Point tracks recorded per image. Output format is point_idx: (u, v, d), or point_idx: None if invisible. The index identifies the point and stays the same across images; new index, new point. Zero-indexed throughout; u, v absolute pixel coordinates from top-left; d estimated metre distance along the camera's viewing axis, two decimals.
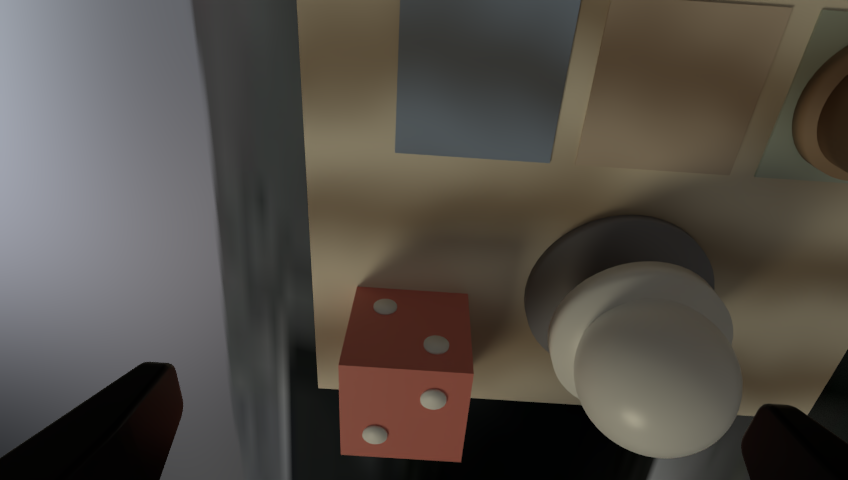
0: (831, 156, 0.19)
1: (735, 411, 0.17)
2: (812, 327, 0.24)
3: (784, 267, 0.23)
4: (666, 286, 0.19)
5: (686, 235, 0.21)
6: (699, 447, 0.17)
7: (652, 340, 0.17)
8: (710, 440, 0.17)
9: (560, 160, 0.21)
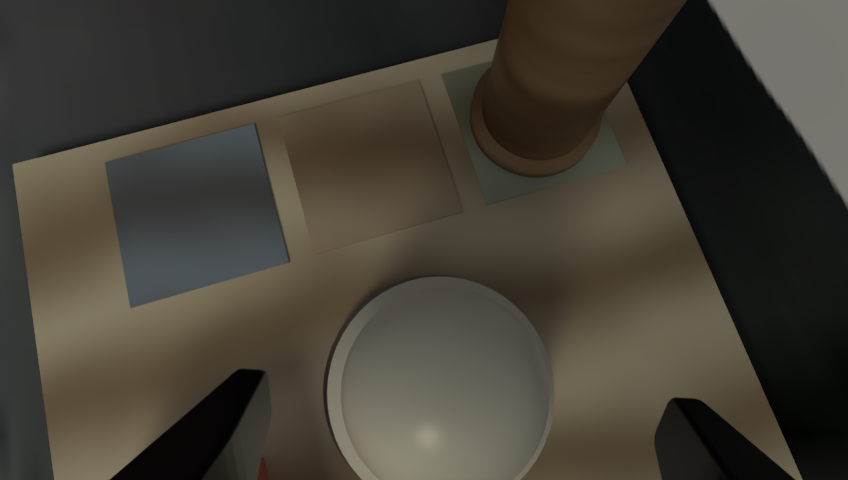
0: (513, 145, 0.20)
1: (515, 347, 0.13)
2: (681, 338, 0.20)
3: (589, 281, 0.20)
4: None
5: (458, 277, 0.20)
6: (491, 408, 0.12)
7: (381, 312, 0.14)
8: (498, 390, 0.12)
9: (299, 256, 0.20)
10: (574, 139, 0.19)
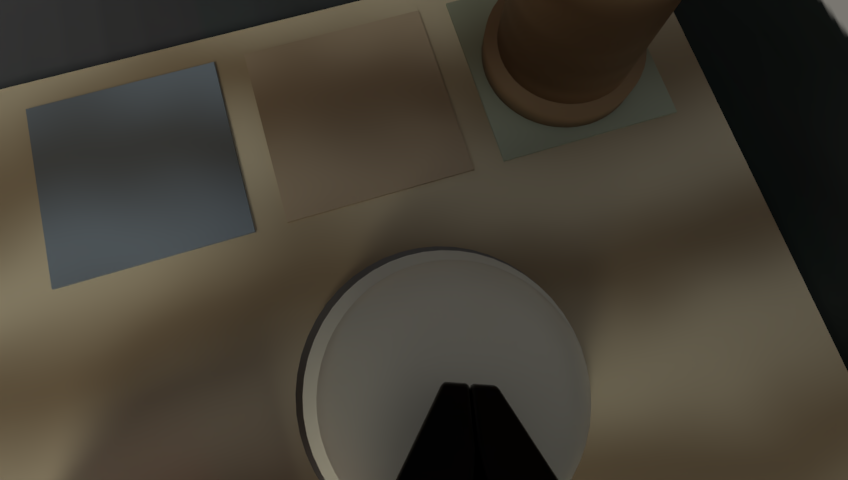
0: (538, 83, 0.16)
1: (548, 334, 0.10)
2: (751, 327, 0.16)
3: (634, 255, 0.16)
4: None
5: (468, 250, 0.16)
6: (519, 417, 0.09)
7: (370, 291, 0.11)
8: (528, 393, 0.09)
9: (269, 225, 0.16)
10: (617, 71, 0.15)
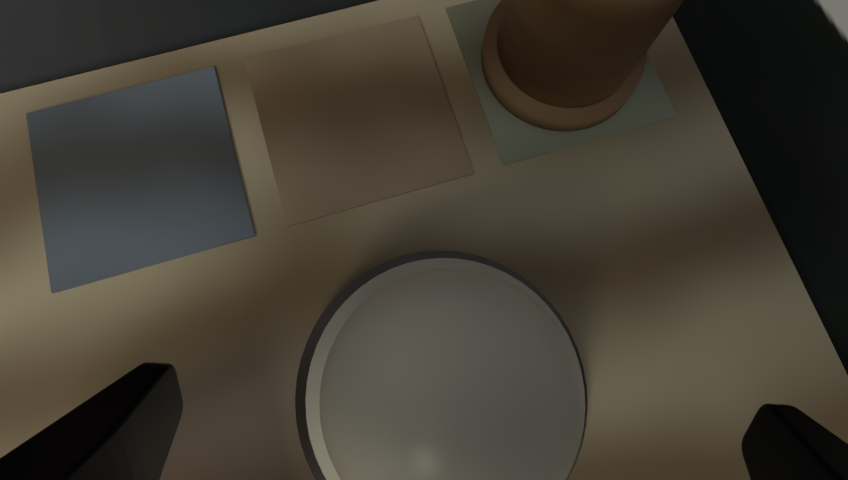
0: (538, 87, 0.16)
1: (543, 340, 0.10)
2: (751, 331, 0.16)
3: (634, 259, 0.16)
4: None
5: (468, 253, 0.16)
6: (514, 421, 0.09)
7: (371, 298, 0.11)
8: (523, 397, 0.09)
9: (268, 229, 0.16)
10: (617, 76, 0.15)
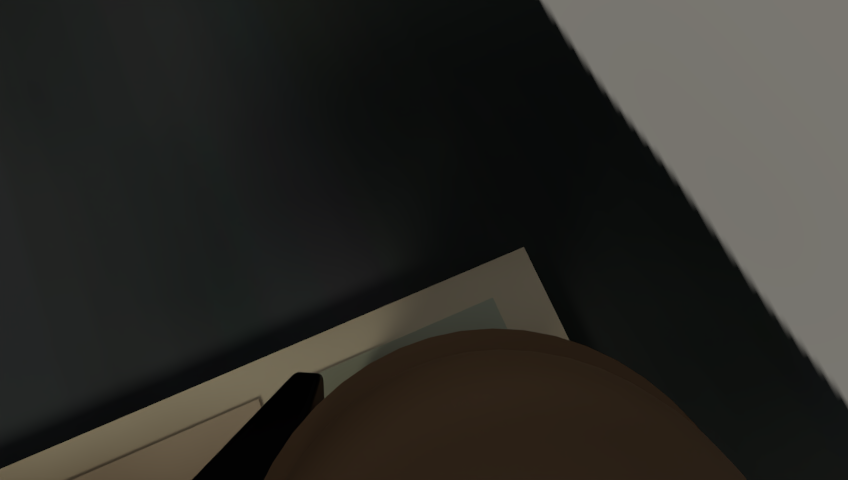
0: None
1: None
2: None
3: None
4: None
5: None
6: None
7: None
8: None
9: None
10: None
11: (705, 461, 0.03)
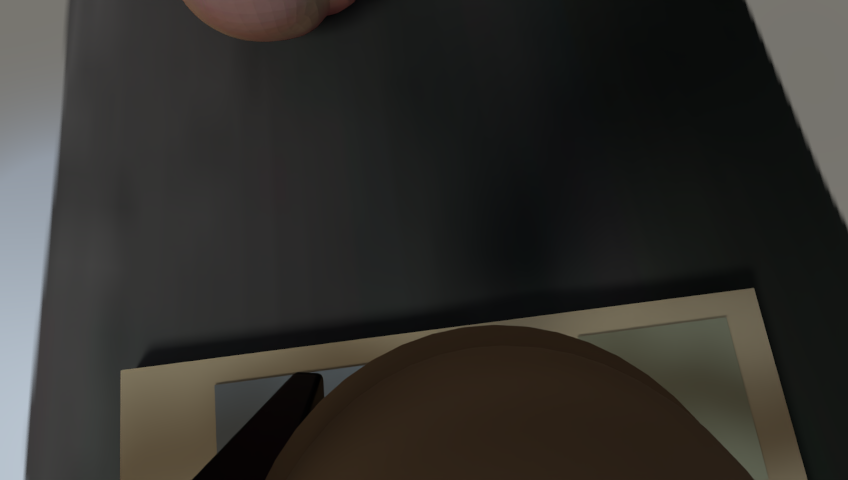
0: None
1: None
2: None
3: None
4: None
5: None
6: None
7: None
8: None
9: None
10: None
11: (708, 455, 0.03)
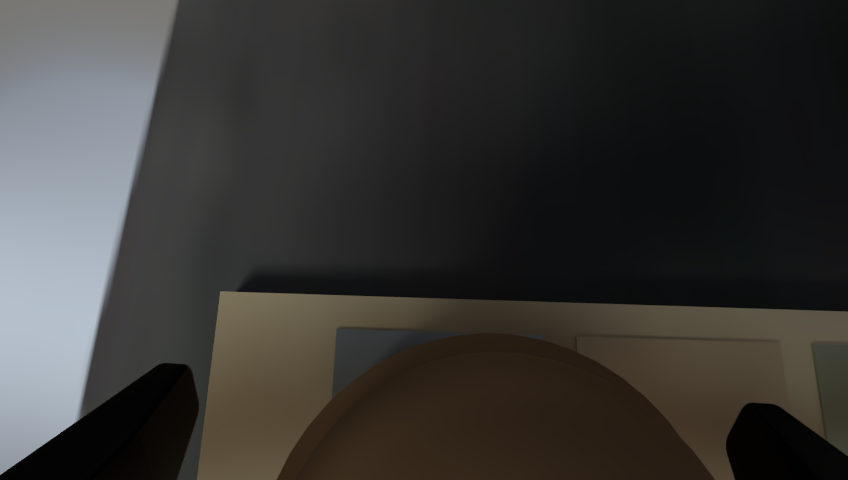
0: None
1: None
2: None
3: None
4: None
5: None
6: None
7: None
8: None
9: None
10: None
11: (664, 447, 0.04)
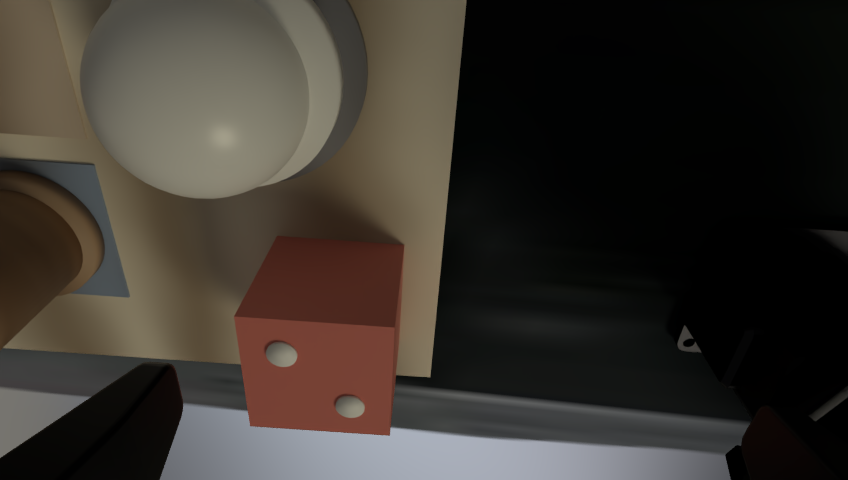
0: (72, 273, 0.20)
1: (130, 33, 0.12)
2: None
3: None
4: None
5: None
6: (177, 94, 0.12)
7: None
8: (161, 79, 0.12)
9: (89, 153, 0.19)
10: (35, 238, 0.18)
11: None
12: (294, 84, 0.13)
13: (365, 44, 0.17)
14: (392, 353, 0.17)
